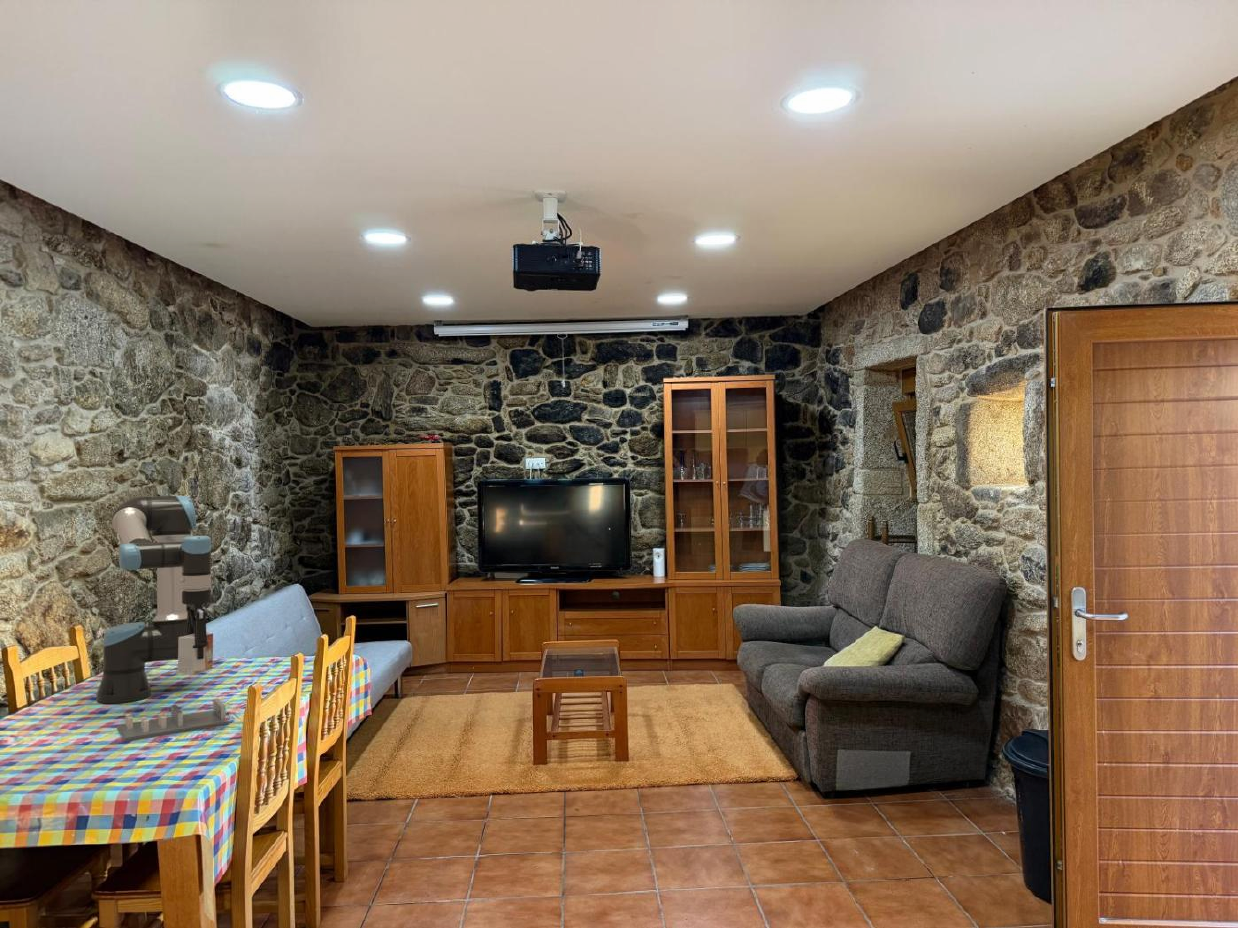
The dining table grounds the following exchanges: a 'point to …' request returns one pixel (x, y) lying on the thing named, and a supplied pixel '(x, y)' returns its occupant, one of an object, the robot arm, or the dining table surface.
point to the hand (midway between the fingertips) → (196, 667)
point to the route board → (167, 725)
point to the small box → (188, 654)
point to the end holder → (218, 710)
